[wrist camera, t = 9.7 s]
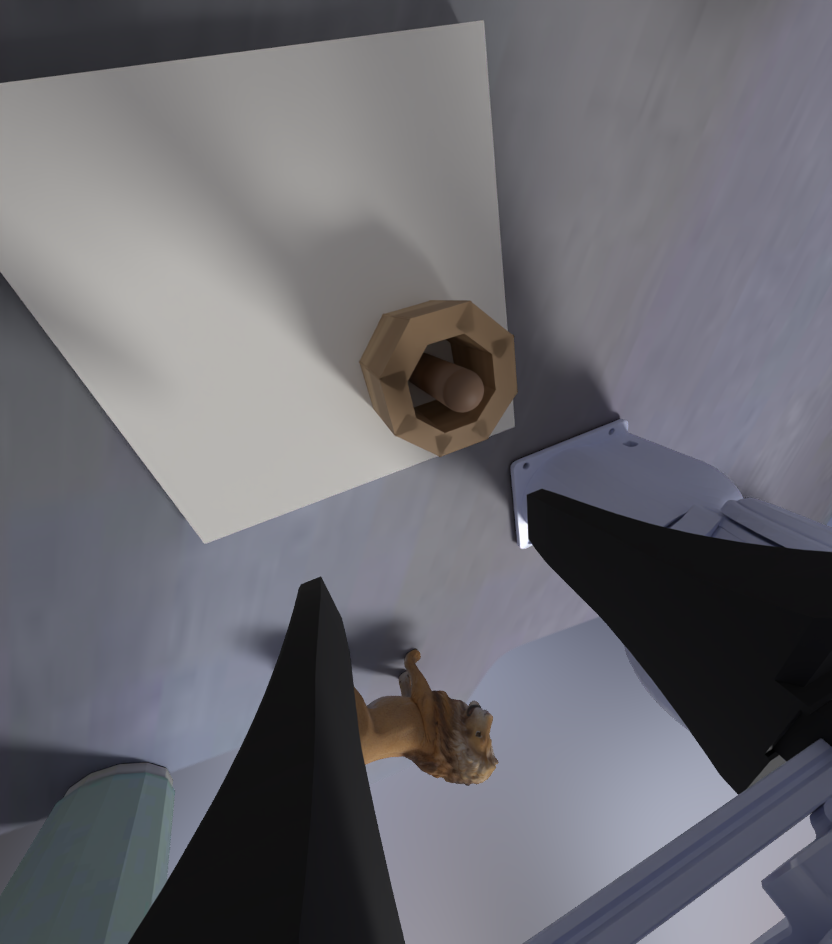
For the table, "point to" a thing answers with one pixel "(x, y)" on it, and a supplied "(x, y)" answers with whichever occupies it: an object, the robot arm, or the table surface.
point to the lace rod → (448, 383)
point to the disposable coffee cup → (94, 861)
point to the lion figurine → (428, 730)
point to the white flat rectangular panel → (253, 249)
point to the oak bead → (472, 348)
